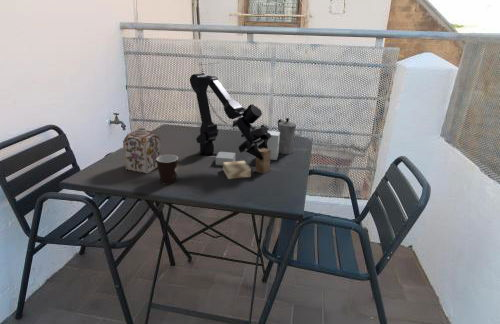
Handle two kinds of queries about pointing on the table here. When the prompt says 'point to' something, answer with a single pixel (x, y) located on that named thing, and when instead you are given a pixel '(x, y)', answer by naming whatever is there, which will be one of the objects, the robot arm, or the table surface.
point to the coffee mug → (167, 168)
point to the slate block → (225, 157)
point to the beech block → (236, 169)
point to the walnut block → (263, 161)
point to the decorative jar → (141, 150)
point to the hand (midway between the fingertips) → (265, 157)
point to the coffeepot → (286, 136)
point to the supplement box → (274, 144)
